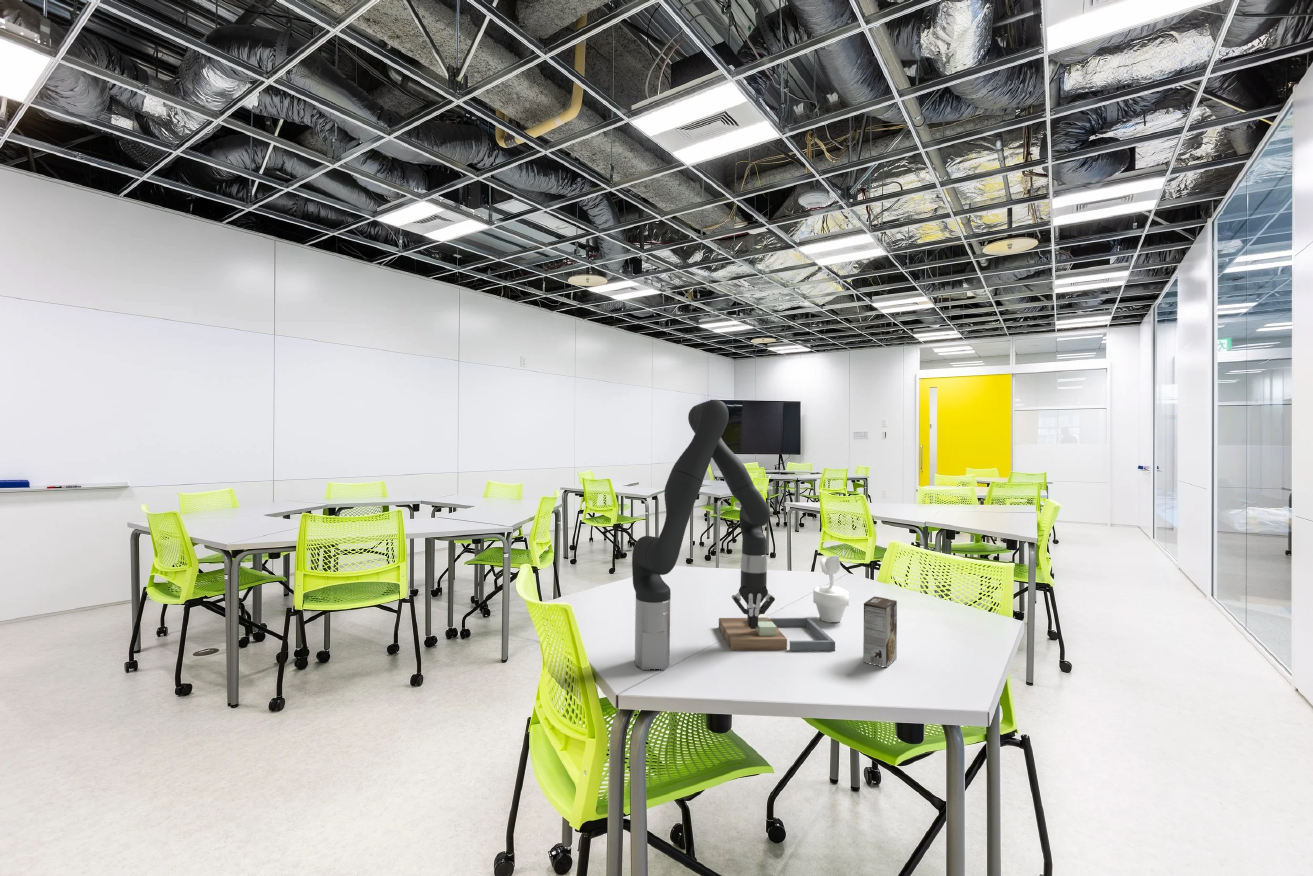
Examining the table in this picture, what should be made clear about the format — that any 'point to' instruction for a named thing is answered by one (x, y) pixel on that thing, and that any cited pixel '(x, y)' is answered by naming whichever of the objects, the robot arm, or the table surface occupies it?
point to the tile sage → (766, 629)
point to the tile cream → (762, 618)
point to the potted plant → (831, 592)
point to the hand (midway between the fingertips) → (752, 628)
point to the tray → (824, 640)
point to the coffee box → (880, 631)
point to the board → (749, 636)
